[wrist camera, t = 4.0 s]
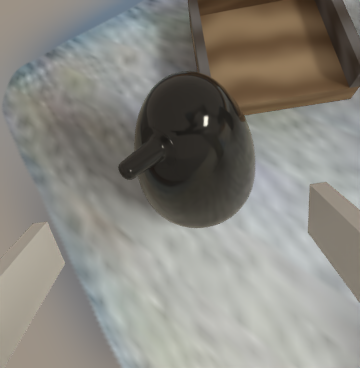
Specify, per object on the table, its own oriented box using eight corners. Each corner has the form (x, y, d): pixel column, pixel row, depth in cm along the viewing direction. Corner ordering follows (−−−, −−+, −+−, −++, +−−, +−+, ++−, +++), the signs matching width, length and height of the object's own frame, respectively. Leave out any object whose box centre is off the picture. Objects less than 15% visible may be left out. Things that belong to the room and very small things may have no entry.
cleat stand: (350, 98, 29) (413, 14, 20) (205, 121, 31) (201, 51, 21) (312, 2, 35) (348, -101, 25) (190, 24, 36) (181, -65, 27)
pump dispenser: (130, 196, 29) (48, 114, 15) (191, 127, 31) (171, -5, 16) (206, 258, 26) (196, 231, 11) (268, 177, 28) (325, 67, 13)
